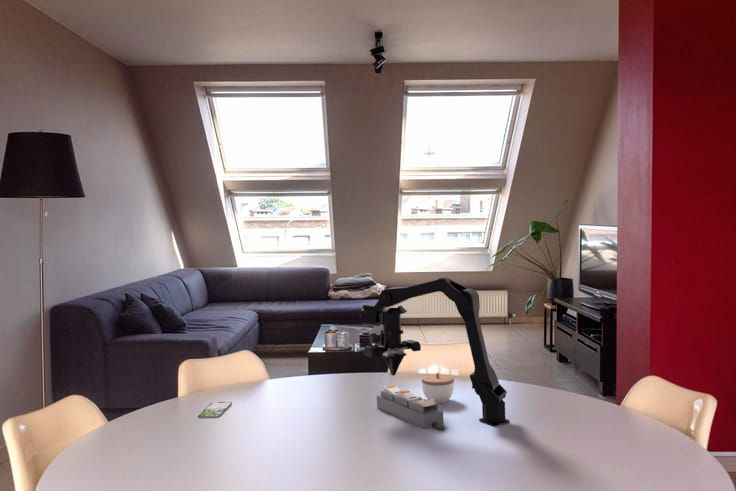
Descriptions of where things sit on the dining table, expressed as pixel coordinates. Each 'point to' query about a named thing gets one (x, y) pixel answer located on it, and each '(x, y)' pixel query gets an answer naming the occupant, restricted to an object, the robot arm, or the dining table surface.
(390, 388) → the block
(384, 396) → the rocker switch panel
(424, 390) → the lidded jar
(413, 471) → the dining table surface
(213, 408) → the smartphone
